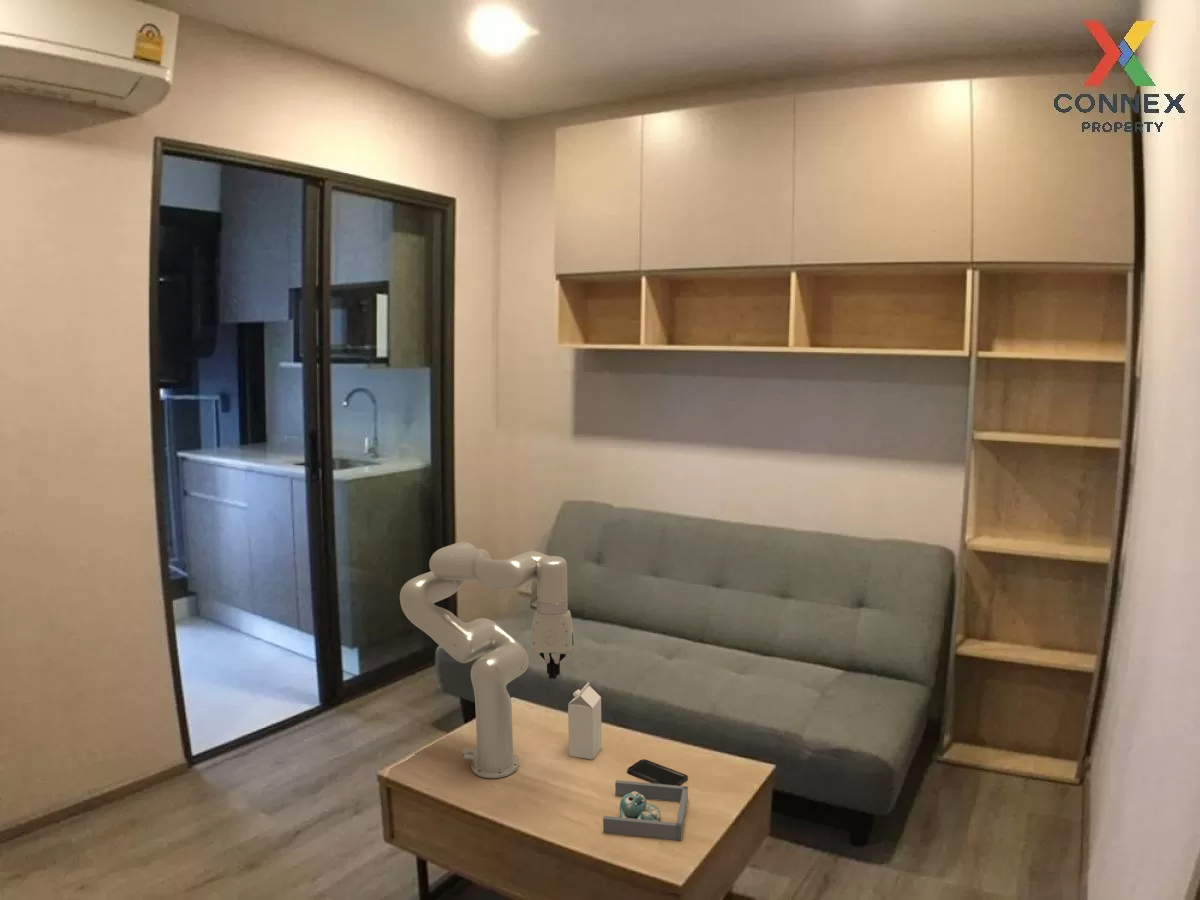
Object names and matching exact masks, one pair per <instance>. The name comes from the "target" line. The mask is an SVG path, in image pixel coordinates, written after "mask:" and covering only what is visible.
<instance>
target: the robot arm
mask: <svg viewBox="0 0 1200 900" xmlns="http://www.w3.org/2000/svg"><path fill="white" fill-rule="evenodd" d="M428 564H429V570H430V571H428V572H425V573H422V574H419V575H417V576H415V577H413V578H411V579H409V580H408V581H406V582H405V583H404V585H403V586H402V587H401V589H400V593H399V602H400V606H401V610H402V612H403V614H404V615H405V616H406V618H407V619H408V621H410V622H411V623H412V624H413V625H414V626H415V627H417V628H418V629H419V630H421V631H422V632H424V633H425V635H428V636H429V638H431V639H432V640H433V641H434V642H435V643H437V645H438V646H440V647H441V649H443V650H444V651H445V652H446V653H447V654H448V655H449V656H450V657H452V659H453V660H455V661H457V662H459V663H461V664H467V663H470V662H471V661H473V660H475V661H474V663H473V664H472V666H471V669H470V680H471V684H472V689H473V694H474V703H475V704H474V705H475V724H476V725H475V727H476V729H475V730H476V747H475V748H469V747H463V749H462V756H463V759H464V760H471V761H472V762H471V771H472V773H474V774H475V775H476V776H477V777H481V778H484V779H486V778H487V779H499V778H505V777H507V776H510V775H512V774H513V773H515V772H516V771H518V769H519V766H520V760H519V758H518V757H517V756H516V755H515V754H514V746H513V745H514V741H513V739H514V738H513V737H514V736H513V734H514V733H513V710H512V709H513V708H512V706H513V705H512V699H511V695H510V694H509V692H508V690H507V685H508V684H509V683H511V682H512V681H514V680H515V679H518V677H520V676H522V675H523V674H524V673H525V672H526V671H527V669H528V667H529V663H530V659H529V655H528V653H527V651H526V649H525V648H524V647H523V645H521V643H519V641H517V640H516V639H515V638H514V637H513V636H511V634H509V633H508V632H507V631H506V630H504V628H502V627H501V626H500V624H498V623H497V622H495V621H493V620H491V619H490V618H485V617H482V618H476V619H474V620H471V621H469V622H464V621H462V620H461V619H459V618H458V617H457V615H455V614H454V613H453V612H451V611H450V610H448V609H446V608H444V607H440V606H438V605H436V604H435V603H438V602H440V601H443V600H445V599H447V598H450V597H451V596H452V595H455V594H456V593H457V592H458V591H459V590H460V589H461V587H462V585H463V584H464V583H465V582H477V583H478V584H479V585H481V586H483V587H484V588H487V589H492V590H505V591H506V590H507V591H508V590H509V591H510V590H511V591H512V590H517V589H520V588H522V587H524V586H526V585H528V584H532V583H534V582H536V596H537V597H536V598H537V599H535V600H532V601H531V607H535V608H536V610H535V611H534V612H533V616H532V624H531V636H530V637H531V639H530V641H531V642H530V643H531V652H532V653H531V654H534V655H537V656H540V657H541V658H542V659H543V660H544V662H545V664H546V674H547V675H548V679H550V680H552V679H553V680H556V679H557V677H558V676H560V673H561V662H562V661H563V659H564V658H570V657H573V656H574V655H575V649H574V644H575V633H574V625H573V618H572V614H571V610H569V609H568V607H569V606H568V605H569V604H568V602H569V601H568V599H569V598H568V563H567V560H566V559H565V558H564V557H561V556H557V555H548V554H545V553H542V552H539V551H536V550H529V551H526V552H523V553H521V554H519V555H516V556H513V557H511V558H507V559H493V558H492V556H491V555H490V553H489V551H487V550H486V549H484V548H477V547H476V546H475V545H473V544H472V543H470V542H467V541H459V542H455V543H453V544H450V545H447V546H443V547H442V548H439V549H437V550H436V551H435V552H433V553H432V555H431V557H430V559H429V563H428ZM553 654H554V658H553Z"/></svg>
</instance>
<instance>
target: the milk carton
mask: <svg viewBox="0 0 1200 900" xmlns="http://www.w3.org/2000/svg"><path fill="white" fill-rule="evenodd" d="M572 695H573V698H572V700H570V701H569V703H568V705H567V706H568V707H567V709H568V710H567V715H568V716H567V717H568V718H567V720H568V721H567V722H568V724H567V725H568V756H569V757H572V758H573V757H575V758H579V759H580V758H581V759H587V760H591V761H592V760H595V758H596V756H597V755H598V753H599V752H600V751H601V750H602V697H601V696H600V694H598V692H596V690H595V689H593V688H592V687H591V686H590V681H588V682H587V683H586V684H585V685H584V686H583V687H582V688H581V690H580V689H577V690H575V691H574V692H572Z"/></svg>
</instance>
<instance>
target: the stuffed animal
mask: <svg viewBox="0 0 1200 900" xmlns="http://www.w3.org/2000/svg"><path fill="white" fill-rule="evenodd" d="M619 814H620V817H622V818H633V819H643V820H653V821H660V818H661V810H660V809H659V807H658V806H656V805H654V804H652V803H649V802H647V799H645V797H644V796H643V795H641V794H639V793H638V792H636V791H633V792H631V793H628V794H626V795H625V796H621V799H620V802H619Z"/></svg>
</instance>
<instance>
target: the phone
mask: <svg viewBox="0 0 1200 900" xmlns="http://www.w3.org/2000/svg"><path fill="white" fill-rule="evenodd" d="M626 773H627V774H629V775H630V776H633V777H635V778H637V779H640V780H643V781H646V782H647V783H654V784H665V785H676V786H683V785H684V783H686V782H687V781H688V780H689V776H688V775H687V774H685V773H682V772H680V771H677V770H674V769H672V768H669V767H667V766H664V765H661V764H659V763H657V762H654V761H651V760H648V759H645V758H642V759H639V760H638V761H636V762H635V763H634V764H632V765H631V766H629V767H628V768H627V769H626Z"/></svg>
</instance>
